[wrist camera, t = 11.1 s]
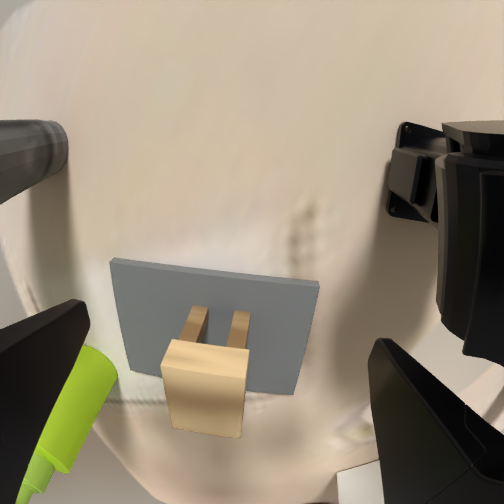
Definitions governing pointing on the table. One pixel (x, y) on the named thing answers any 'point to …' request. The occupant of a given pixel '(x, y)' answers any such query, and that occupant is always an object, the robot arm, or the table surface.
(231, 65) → the table surface
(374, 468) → the milk carton
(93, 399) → the soap dispenser
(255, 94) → the table surface
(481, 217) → the robot arm
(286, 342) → the grey rectangular board
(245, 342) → the oak stool
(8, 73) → the table surface
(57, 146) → the beverage cup
